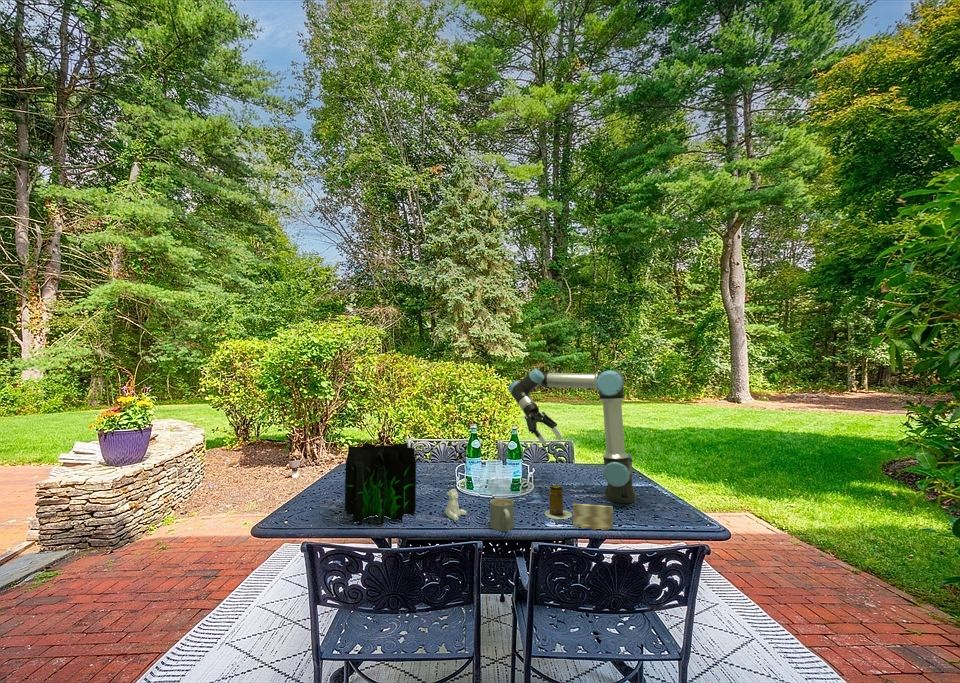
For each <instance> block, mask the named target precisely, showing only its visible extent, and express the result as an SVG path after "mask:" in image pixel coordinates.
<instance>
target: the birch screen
mask: <svg viewBox="0 0 960 683" xmlns="http://www.w3.org/2000/svg"><path fill="white" fill-rule="evenodd" d="M613 511H614V508H613V506H612V505H599V504H587V503H584V504H583V503H572V527H573V526H578V527H581V528H580V529H584V528H592V529H591V530H596V529H601V530H600V531H609V529H613V530H614V519H613V518H614V512H613ZM578 527H577V528H578Z"/></svg>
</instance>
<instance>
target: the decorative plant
mask: <svg viewBox="0 0 960 683" xmlns="http://www.w3.org/2000/svg"><path fill="white" fill-rule="evenodd" d="M408 445H409V443H408V442H404V443H401V442H400V443H395V444H394V443H393V444H391V445H384V444H382V441H381V444H379V445H378V446H376V445H375V444H373V443H370V442H369V443H368V442H362V446H352V445H351V446H348V447H347V450H348V451H347V456H346V459H345V475H344V476H345V477H344V478H345V480H344V482H345V483H344V484H345V485H344V492H345V493H344V510H345V512H346V514H347V513H348V514H353V516H352V524H353V523H354V522H358V521H359V523H360V522H362V520H363V519H364V518H367V517H369V516H375V515H377V516H378V518H377V520H379V521H381V523H380V522H379V523H378V525H380V524H383V523H384V524H385V518H384V516H387V517H389V518H391V519H399V520H401V521H402V522H403V517H404V516H403V515H404V514H411V515H413V516H414V517H415V512H416V505H417V504H416V501H417V500H416V494H417V493H416V491H417V488H416V486H417V459H416V456H415V448H414V447H408ZM348 514H347V515H348ZM411 515H410V516H411ZM363 521H364V520H363ZM362 523H363V522H362ZM384 524H383V525H384Z"/></svg>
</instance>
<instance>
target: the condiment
mask: <svg viewBox="0 0 960 683" xmlns="http://www.w3.org/2000/svg"><path fill="white" fill-rule="evenodd" d="M548 497H549V504H548V505H549V508H548V510H550V512H547V514H550V515H553V516H557V517H565V516H567V515H569V513H566V512H563V510H564V493H563V486H562V485H559V484H552V485H550V491H549V496H548Z"/></svg>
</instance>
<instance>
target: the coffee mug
mask: <svg viewBox="0 0 960 683" xmlns="http://www.w3.org/2000/svg"><path fill="white" fill-rule="evenodd" d="M514 502H515V501H514V500H513V499H510V498H504V497H503V498H502V497H498V498H497V497H496V498H493V499H491V500H490V501H489V508H490V509H489V526H490V528H491V529H493V530H495V531H502V532H503V531H505V532H506V531H509V530H512V529H514V527H515V523H514V522H515V507H514V506H515V503H514Z"/></svg>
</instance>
